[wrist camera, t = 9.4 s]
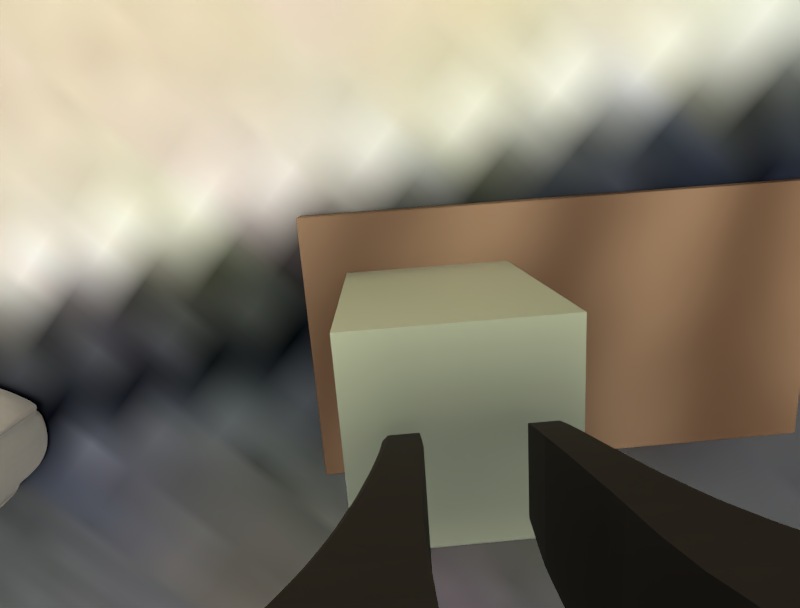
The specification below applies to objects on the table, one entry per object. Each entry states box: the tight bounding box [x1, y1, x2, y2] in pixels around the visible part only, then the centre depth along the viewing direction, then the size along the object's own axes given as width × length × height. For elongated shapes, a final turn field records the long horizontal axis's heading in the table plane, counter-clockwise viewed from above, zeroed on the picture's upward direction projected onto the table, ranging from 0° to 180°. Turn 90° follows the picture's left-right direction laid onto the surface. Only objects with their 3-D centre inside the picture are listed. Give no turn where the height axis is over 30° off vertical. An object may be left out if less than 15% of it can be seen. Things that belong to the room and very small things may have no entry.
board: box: [296, 179, 800, 475], centre depth 18 cm, size 17×9×1 cm, turn 94°
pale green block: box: [330, 261, 587, 548], centre depth 14 cm, size 5×5×7 cm
